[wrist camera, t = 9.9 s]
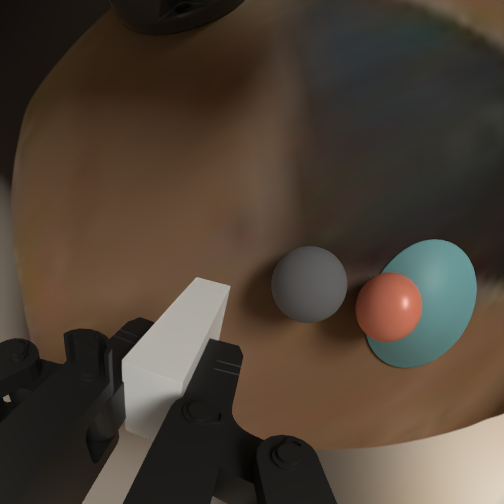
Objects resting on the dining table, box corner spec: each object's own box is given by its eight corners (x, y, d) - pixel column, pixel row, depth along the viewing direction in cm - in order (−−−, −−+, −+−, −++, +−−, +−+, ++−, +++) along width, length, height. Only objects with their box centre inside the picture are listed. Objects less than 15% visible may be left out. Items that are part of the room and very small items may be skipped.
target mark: (344, 358, 24) (344, 360, 24) (391, 221, 21) (392, 221, 21) (444, 370, 23) (445, 371, 23) (489, 258, 21) (490, 258, 21)
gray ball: (330, 318, 16) (361, 317, 20) (320, 228, 17) (352, 246, 21) (257, 326, 19) (300, 325, 23) (253, 249, 21) (294, 262, 25)
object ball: (330, 313, 21) (379, 346, 16) (365, 252, 21) (420, 272, 16) (364, 331, 24) (408, 360, 19) (394, 279, 24) (441, 299, 19)
